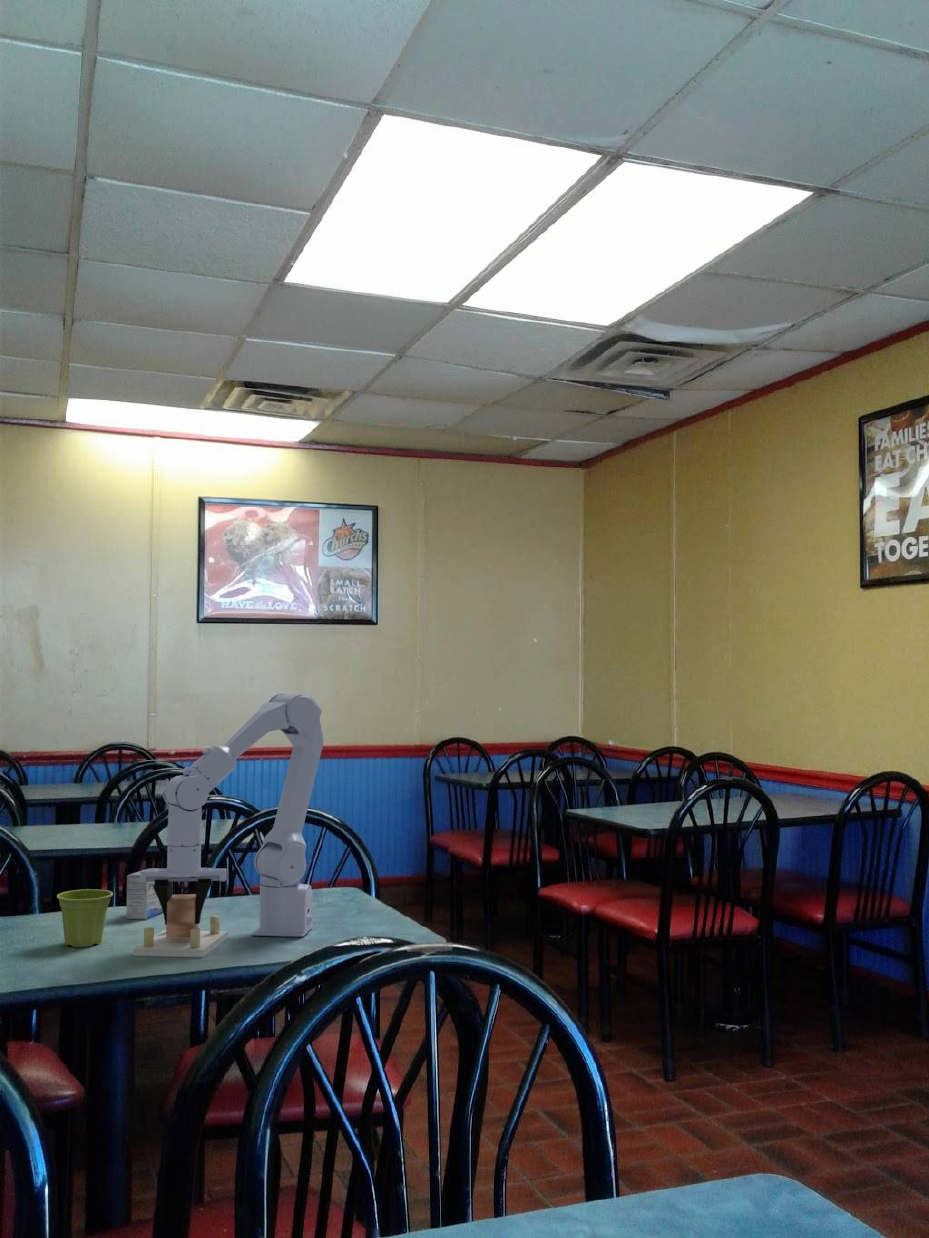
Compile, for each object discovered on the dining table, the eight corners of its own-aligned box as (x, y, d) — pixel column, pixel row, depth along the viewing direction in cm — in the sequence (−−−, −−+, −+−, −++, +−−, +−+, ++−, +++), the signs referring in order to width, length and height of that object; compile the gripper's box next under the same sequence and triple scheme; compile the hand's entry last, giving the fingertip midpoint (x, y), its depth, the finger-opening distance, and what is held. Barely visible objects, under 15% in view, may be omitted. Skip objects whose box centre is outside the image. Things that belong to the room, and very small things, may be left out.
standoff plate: (227, 938, 194) (228, 914, 194) (202, 957, 180) (203, 931, 180) (163, 936, 195) (163, 913, 195) (133, 955, 181) (134, 930, 181)
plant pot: (111, 936, 195) (112, 887, 196) (112, 947, 186) (113, 897, 187) (56, 939, 192) (57, 890, 193) (54, 951, 183) (55, 900, 184)
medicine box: (146, 920, 209) (147, 875, 209) (125, 919, 210) (126, 874, 210) (165, 911, 216) (166, 868, 217) (145, 910, 217) (146, 867, 218)
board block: (198, 928, 191) (198, 894, 192) (193, 937, 184) (194, 901, 185) (172, 928, 191) (173, 894, 191) (166, 937, 184) (167, 902, 184)
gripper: (228, 840, 193) (227, 917, 192) (145, 842, 192) (144, 919, 191) (224, 846, 186) (223, 925, 185) (138, 847, 185) (137, 928, 184)
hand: (182, 923), depth 188 cm, fingers closed on board block, 4 cm apart
